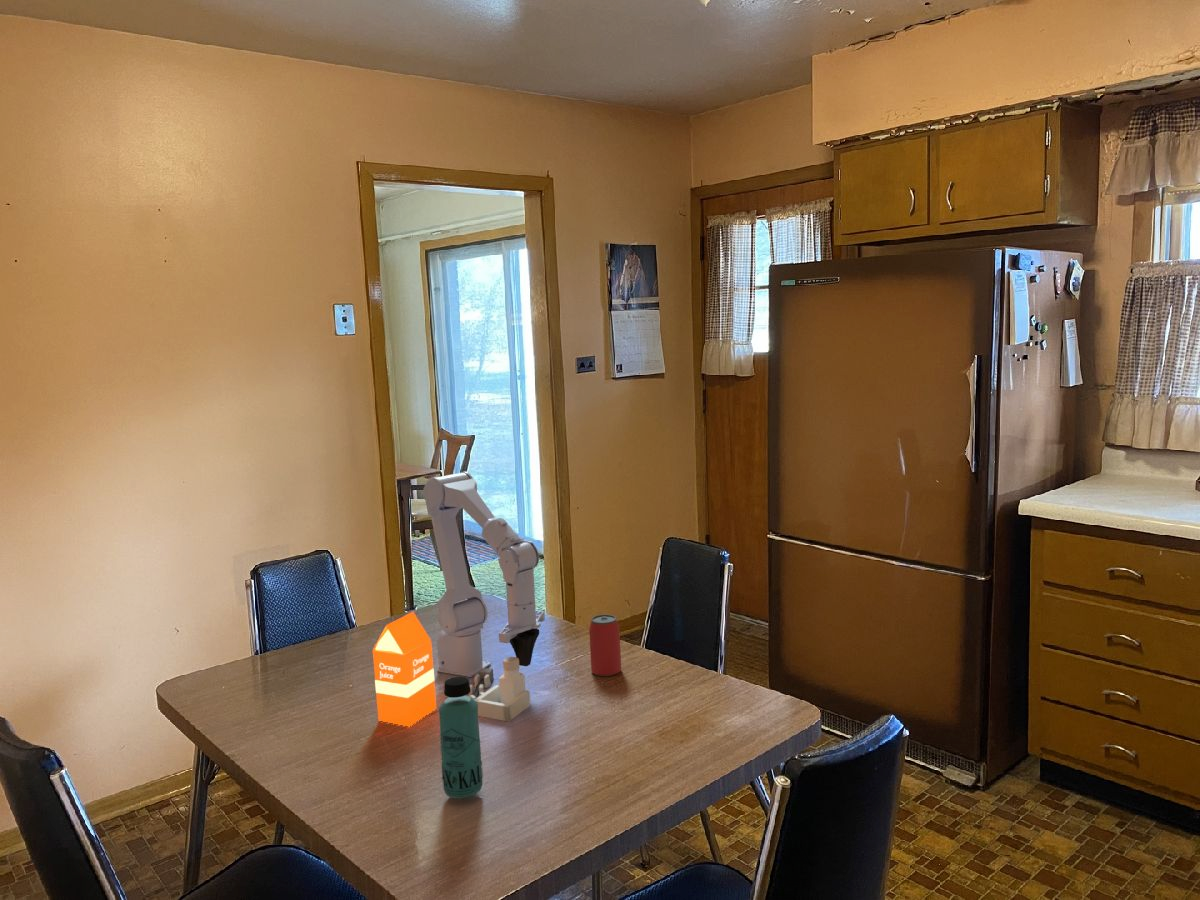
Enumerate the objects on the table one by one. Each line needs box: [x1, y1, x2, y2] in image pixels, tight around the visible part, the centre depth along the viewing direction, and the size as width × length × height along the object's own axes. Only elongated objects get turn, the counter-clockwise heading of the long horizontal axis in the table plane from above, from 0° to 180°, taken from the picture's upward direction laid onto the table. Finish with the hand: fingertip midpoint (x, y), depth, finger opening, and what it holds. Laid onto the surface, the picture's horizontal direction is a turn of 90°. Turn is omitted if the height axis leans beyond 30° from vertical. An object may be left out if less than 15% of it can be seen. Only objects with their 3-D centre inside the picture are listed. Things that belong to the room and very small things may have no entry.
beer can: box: [588, 614, 622, 677], centre depth 190 cm, size 7×7×12 cm
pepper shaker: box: [498, 656, 526, 704], centre depth 175 cm, size 4×4×10 cm
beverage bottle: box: [438, 675, 484, 799], centre depth 140 cm, size 6×7×20 cm
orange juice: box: [372, 611, 437, 728], centre depth 172 cm, size 8×9×20 cm
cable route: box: [473, 667, 495, 698], centre depth 182 cm, size 3×16×2 cm, turn 0°
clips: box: [467, 673, 492, 700], centre depth 181 cm, size 4×13×2 cm, turn 3°
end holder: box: [475, 684, 531, 722], centre depth 174 cm, size 8×8×3 cm
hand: (524, 664), depth 181 cm, fingers closed
